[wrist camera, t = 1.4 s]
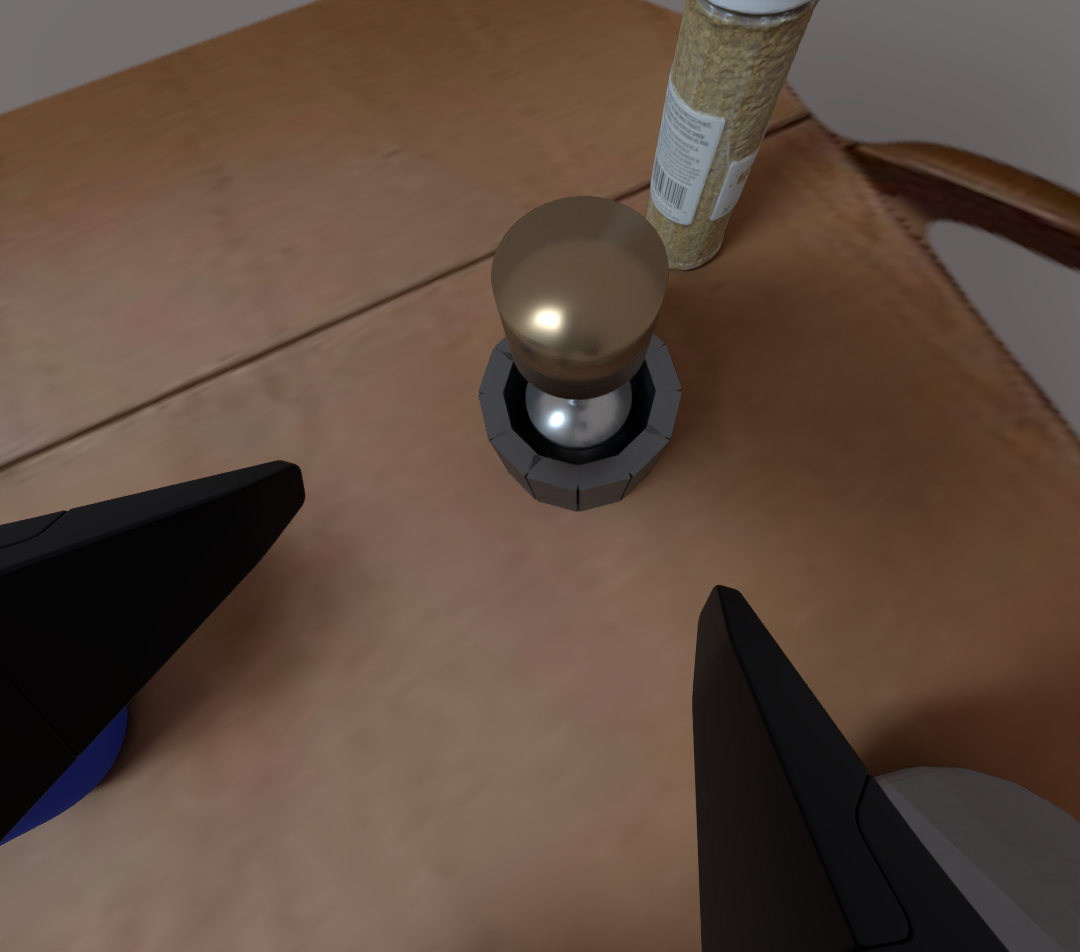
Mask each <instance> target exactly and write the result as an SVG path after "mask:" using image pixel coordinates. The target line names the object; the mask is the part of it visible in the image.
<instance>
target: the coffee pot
mask: <svg viewBox="0 0 1080 952" xmlns="http://www.w3.org/2000/svg"><path fill="white" fill-rule="evenodd" d="M874 778H875V780H876V781H877V782H878V784H879V785H880V787H881V788H882V789H883V791H884V792H885V794H886V795H887V796H888V798H889V799H890V800H891V802H892V803H893V805H894V806H895V807H896V809H897V810H898V811H899V813H900V814H901V815H902V817H903V818H904V819H905V821H906V822H907V823H908V825H909V826H910V827H911V829H912V830H913V831H914V833H915V834H916V835H917V837H918V838H919V839H920V841H921V842H922V843H923V845H924V846H925V847H926V848H927V850H928V851H929V852H930V854H931V855H932V856H933V857H934V859H935V860H936V861H937V862H938V864H939V865H940V866H941V867H942V869H943V870H944V871H945V872H946V874H947V875H948V876H949V877H950V879H951V880H952V881H953V883H954V884H955V885H956V886H957V888H958V889H959V890H960V891H961V893H962V894H963V895H964V896H965V898H966V899H967V900H968V901H969V902H970V904H971V905H972V906H973V907H974V909H975V910H976V911H977V912H978V913H979V915H980V916H981V917H982V918H983V920H984V921H985V922H986V923H987V925H988V926H989V927H990V928H991V929H992V931H993V932H994V933H995V934H996V936H997V937H998V938H999V939H1000V940H1001V942H1002V943H1003V944H1004V945H1005V947H1006V948H1007V949H1008V950H1009V951H1010V952H1080V823H1079V822H1078V821H1077V820H1075V819H1074V818H1073V817H1072V816H1071V815H1070V814H1068V813H1067V812H1065V811H1064V810H1063V809H1061V808H1059V807H1057V806H1056V805H1054V804H1052V803H1050V802H1049V801H1047V800H1045V799H1043V798H1041V797H1040V796H1038V795H1036V794H1034V793H1033V792H1031V791H1029V790H1027V789H1025V788H1024V787H1022V786H1020V785H1018V784H1017V783H1014V782H1011V781H1007V780H1004V779H1001V778H997V777H994V776H990V775H987V774H984V773H980V772H977V771H974V770H970V769H966V768H957V767H923V766H918V767H911V768H905V769H902V770H898V771H894V772H890V773H887V774H883V775H879V776H875V777H874Z"/></svg>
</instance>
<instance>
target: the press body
mask: <svg viewBox="0 0 1080 952" xmlns="http://www.w3.org/2000/svg"><path fill="white" fill-rule="evenodd" d="M495 349H496V350H495ZM495 349H493V351H492V354H491V356H490V359H489V362H488V365H487V368H486V371H485V374H484V377H483V380H482V383H481V386H480V389H479V400H480V404H481V409H482V413H483V418H484V422H485V426H486V431H487V435H488V439H489V441H490V443H491V444H492V446H493V448H494V449H495V451H496V453H497V454H498V456H499V457H500V459H501V461H502V462H503V464H504V466H505V467H506V469H507V470H508V472H509V473H510V474H511V475H512V476H513V477H514V478H515V479H516V480H517V481H518V482H519V483H520V484H521V485H522V486H523V487H524V488H525V489H526V490H527V491H528V492H529V493H530V495H531V496H532V497H533V498H534V499H535V500H536V499H537V500H538V501H540V502H544V503H547V504H551V505H554V506H558V507H562V508H565V509H569V510H573V511H576V512H577V509H579V512H580V511H584V510H587V509H591V508H595V507H599V506H603V505H607V504H611V503H615V502H619V500H620V499H621V500H622V499H623V498H624V497H625V496H626V495H627V494H628V493H629V492H630V491H631V490H632V489H633V488H634V487H635V486H636V485H637V484H638V483H639V482H640V481H641V480H642V479H643V478H644V477H645V476H646V475H647V474H648V473H649V472H650V471H651V469H652V467H653V466H654V464H655V463H656V461H657V460H658V458H659V457H660V455H661V453H662V452H663V450H664V449H665V447H666V446H667V444H668V443H669V441H670V439H671V436H672V432H673V428H674V424H675V420H676V415H677V411H678V407H679V403H680V399H681V394H682V392H680V391H681V389H682V388H681V385H680V382H679V379H678V376H677V374H676V371H675V368H674V365H673V362H672V359H671V357H670V354H669V351H668V348H667V345H666V346H664V342H663V341H662V340H661V339H660V338H658V337H657V336H656V335H655V334H654V333H653V334H652V338H651V341H650V344H649V348H648V351H647V354H646V357H645V359H644V361H643V363H642V365H641V367H640V368H639V369H638V371H637V372H636V374H635V375H634V376H633V377H632V378H631V379H630V380H629V382H630V385H631V391H632V402H631V408H630V411H629V414H628V417H627V420H626V422H625V424H624V426H623V427H622V429H621V430H620V432H619V433H618V434H617V435H616V436H615V437H614V438H612V439H611V440H610V441H608V442H607V443H605V444H603V445H601V446H599V447H596V448H593V449H589V450H582V451H574V450H567V449H563V448H560V447H557V446H555V445H553V444H551V443H549V442H548V441H546V440H545V439H544V438H543V437H542V436H541V435H540V434H539V433H538V432H537V431H536V429H535V428H534V426H533V424H532V422H531V420H530V417H529V414H528V411H527V406H526V389H527V385H528V381H527V380H526V379H525V378H524V377H523V376H522V374H521V373H520V371H519V370H518V369H517V367H516V365H515V363H514V361H513V358H512V355H511V352H510V349H509V345H508V342H507V338H506V337H505V338H504V339H503V340H501V341H500V342H499V343H498V344H497V345H496V346H495Z"/></svg>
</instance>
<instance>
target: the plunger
mask: <svg viewBox="0 0 1080 952" xmlns="http://www.w3.org/2000/svg"><path fill="white" fill-rule="evenodd" d="M668 277H669V262H668V255H667V252H666V249H665V246H664V243H663V241H662V239H661V237H660V236H659V234H658V232H657V231H656V229H655V228H654V227H653V226H652V225H651V224H650V222H649V221H648V220H646V219H645V218H644V217H643V216H642V215H641V214H639V213H638V212H636V211H635V210H633V209H632V208H630V207H628V206H626V205H624V204H622V203H619V202H616V201H613V200H609V199H605V198H601V197H592V196H576V197H567V198H563V199H558V200H555V201H552V202H548V203H546V204H544V205H541V206H539V207H537V208H535V209H533V210H532V211H530V212H528V213H527V214H526V215H524V216H523V217H522V218H520V219H519V220H518V221H517V222H516V223H515V224H514V225H513V226H512V227H511V228H510V229H509V230H508V232H507V233H506V234H505V235H504V237H503V239H502V240H501V242H500V244H499V246H498V248H497V250H496V253H495V256H494V259H493V263H492V271H491V283H492V288H493V293H494V297H495V300H496V304H497V307H498V311H499V314H500V318H501V321H502V325H503V328H504V331H505V335H506V338H507V342H508V345H509V349H510V352H511V355H512V358H513V361H514V363H515V365H516V367H517V369H518V370H519V371H520V373H521V374H522V376H523V377H524V378H525V379H526V380H527V381H528V385H527V389H526V406H527V411H528V414H529V417H530V420H531V422H532V424H533V426H534V428H535V429H536V431H537V432H538V433H539V434H540V435H541V436H542V437H543V438H544V439H545V440H546V441H548V442H549V443H551V444H553V445H555V446H557V447H560V448H563V449H567V450H574V451H582V450H589V449H593V448H596V447H599V446H601V445H603V444H605V443H607V442H608V441H610V440H611V439H612V438H614V437H615V436H616V435H617V434H618V433H619V432H620V430H621V429H622V427H623V426H624V424H625V422H626V420H627V417H628V414H629V411H630V408H631V402H632V391H631V385H630V382H629V380H630V379H631V378H632V377H633V376H634V375H635V374H636V372H637V371H638V369H639V368H640V367H641V365H642V363H643V361H644V359H645V357H646V354H647V351H648V348H649V344H650V341H651V338H652V334H653V331H654V328H655V324H656V321H657V318H658V314H659V311H660V308H661V304H662V301H663V298H664V294H665V291H666V288H667V283H668Z"/></svg>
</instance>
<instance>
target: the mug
mask: <svg viewBox="0 0 1080 952" xmlns="http://www.w3.org/2000/svg"><path fill="white" fill-rule="evenodd" d="M127 719H128V712H127V705H126V706H125V708H124V709H123V710H122V711H121V712H120V713H119V714H118V715H117V716H116V717H115V718H114V719H113V720H112V722H111V723H110V724H109V725H108V726H107V727H106V728H105V729H104V730H103V731H102V732H101V733H100V735H99V736H98V737H97V738H96V739H95V740H94V741H93V742H92V743H91V744H90V745H89V746H88V747H87V749H86V750H85V751H84V752H83V753H82V754H81V755H79V756H78V759H77V760H76V761H75V762H74V763H73V764H72V765H71V766H70V767H69V768H68V770H67V771H66V772H65V773H64V774H63V775H62V776H61V777H60V778H59V779H58V780H57V781H56V783H55V784H54V785H53V786H52V787H51V788H50V789H49V790H48V791H47V792H46V793H45V794H44V795H43V797H42V798H41V799H40V800H39V801H38V802H37V803H36V804H35V805H34V806H33V807H32V808H31V810H30V811H29V812H28V813H27V814H26V815H25V816H24V817H23V818H22V819H21V820H20V821H19V823H18V824H17V825H16V826H15V827H14V828H13V829H12V830H11V831H10V832H9V833H8V834H7V835H6V837H5V838H4V839H3V840H2V841H1V842H0V846H1V845H3V844H5V843H6V842H8V841H10V840H12V839H14V838H16V837H18V836H20V835H22V834H24V833H26V832H27V831H29V830H31V829H33V828H35V827H37V826H39V825H41V824H43V823H45V822H47V821H48V820H50V819H52V818H54V817H56V816H57V815H59V814H61V813H62V812H64V811H65V810H67V809H68V808H70V807H71V806H73V805H74V804H76V803H77V802H78V801H80V800H81V799H82V798H83V797H85V796H86V795H87V794H88V793H89V792H90V791H91V790H93V789H94V788H95V787H96V786H97V785H98V783H99V782H100V781H101V780H102V779H103V778H104V776H105V775H106V774H107V773H108V771H109V770H110V768H111V767H112V765H113V763H114V762H115V760H116V758H117V756H118V754H119V751H120V749H121V747H122V744H123V741H124V737H125V733H126V728H127Z"/></svg>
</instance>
